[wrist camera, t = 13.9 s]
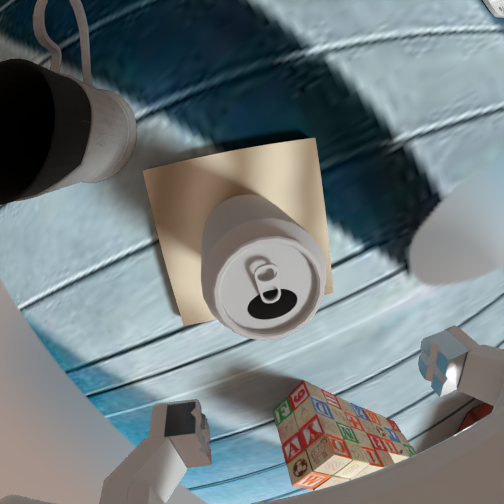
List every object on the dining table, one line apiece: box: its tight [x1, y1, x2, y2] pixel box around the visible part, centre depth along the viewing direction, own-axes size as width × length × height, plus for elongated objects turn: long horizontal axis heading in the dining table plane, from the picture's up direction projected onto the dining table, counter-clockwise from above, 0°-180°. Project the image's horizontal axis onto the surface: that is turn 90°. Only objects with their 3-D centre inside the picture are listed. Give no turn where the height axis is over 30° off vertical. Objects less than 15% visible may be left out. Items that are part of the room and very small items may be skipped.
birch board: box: [143, 138, 333, 326], centre depth 29 cm, size 15×15×2 cm
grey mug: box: [0, 0, 137, 205], centre depth 17 cm, size 9×14×15 cm, turn 171°
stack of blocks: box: [273, 381, 416, 491], centre depth 34 cm, size 21×6×12 cm, turn 53°
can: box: [201, 195, 327, 340], centre depth 23 cm, size 8×8×12 cm
